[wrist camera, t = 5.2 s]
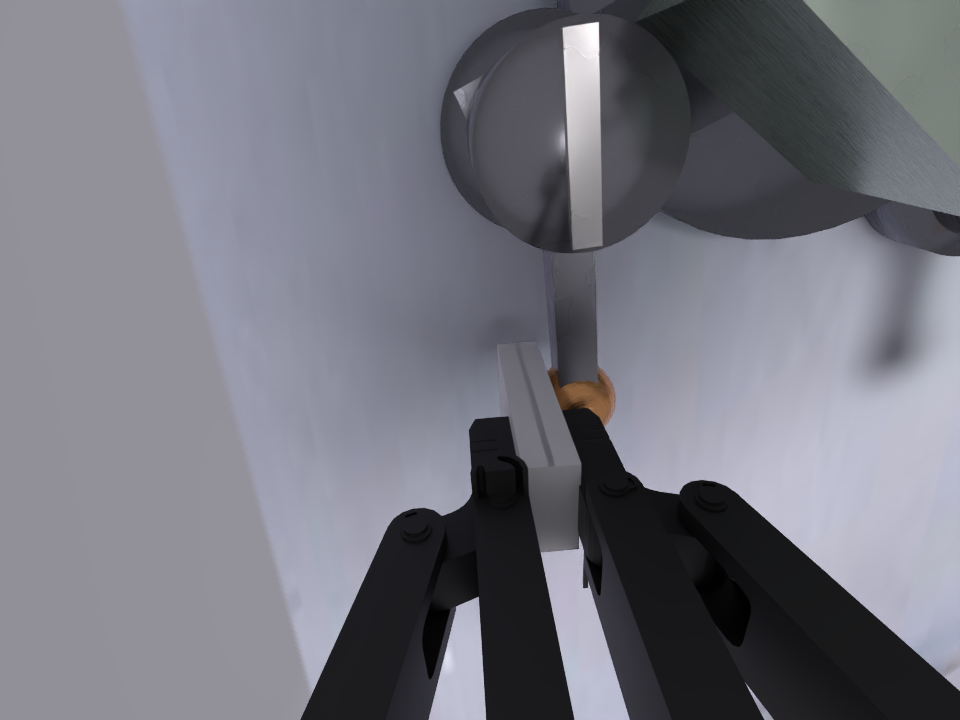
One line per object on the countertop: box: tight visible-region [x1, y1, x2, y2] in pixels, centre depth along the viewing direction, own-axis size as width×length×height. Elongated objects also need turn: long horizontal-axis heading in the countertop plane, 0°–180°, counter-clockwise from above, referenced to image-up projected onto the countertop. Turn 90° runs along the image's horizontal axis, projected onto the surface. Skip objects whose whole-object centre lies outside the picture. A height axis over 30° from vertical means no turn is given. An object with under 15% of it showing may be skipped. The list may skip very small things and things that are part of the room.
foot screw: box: [466, 14, 691, 427], centre depth 15 cm, size 12×5×6 cm, turn 8°
